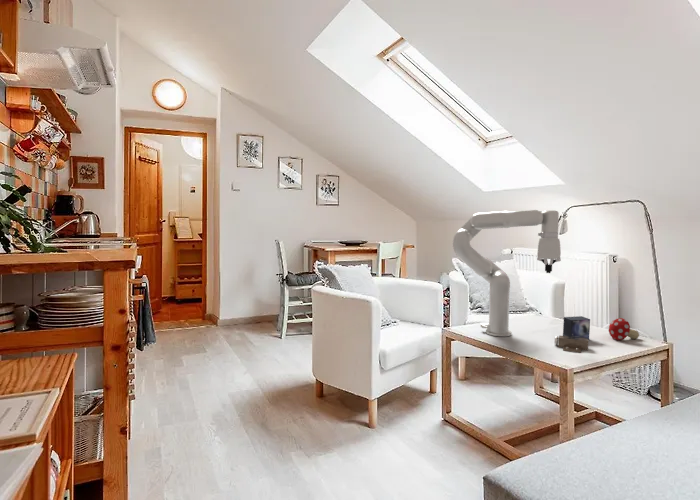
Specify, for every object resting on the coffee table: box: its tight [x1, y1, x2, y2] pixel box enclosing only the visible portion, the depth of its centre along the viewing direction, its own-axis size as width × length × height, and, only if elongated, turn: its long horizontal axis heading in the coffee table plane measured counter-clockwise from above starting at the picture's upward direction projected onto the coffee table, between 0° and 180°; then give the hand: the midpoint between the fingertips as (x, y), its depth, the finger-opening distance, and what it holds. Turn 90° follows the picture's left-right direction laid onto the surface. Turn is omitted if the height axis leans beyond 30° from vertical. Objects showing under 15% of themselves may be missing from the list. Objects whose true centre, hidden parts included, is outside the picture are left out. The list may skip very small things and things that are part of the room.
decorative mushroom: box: [608, 317, 640, 341], centre depth 221 cm, size 11×11×15 cm
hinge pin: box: [554, 335, 559, 346], centre depth 208 cm, size 14×4×4 cm, turn 60°
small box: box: [562, 315, 591, 341], centre depth 222 cm, size 11×6×10 cm, turn 101°
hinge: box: [557, 335, 589, 354], centre depth 207 cm, size 12×15×4 cm
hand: (548, 272), depth 224 cm, fingers closed
